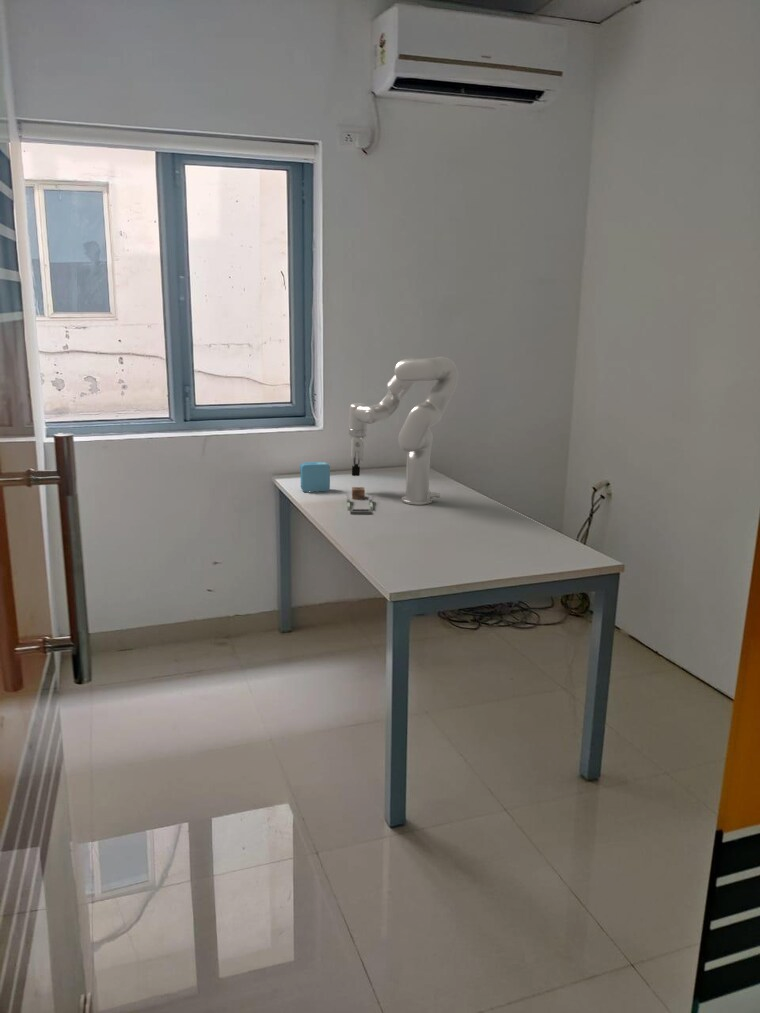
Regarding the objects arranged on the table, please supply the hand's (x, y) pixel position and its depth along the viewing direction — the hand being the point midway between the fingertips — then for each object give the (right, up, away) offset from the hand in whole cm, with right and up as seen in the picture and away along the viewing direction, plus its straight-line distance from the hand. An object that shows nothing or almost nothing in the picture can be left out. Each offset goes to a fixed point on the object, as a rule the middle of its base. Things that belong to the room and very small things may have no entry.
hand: (355, 475), depth 333 cm
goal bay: (+2, -14, -24) cm, 27 cm away
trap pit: (+3, -16, -30) cm, 34 cm away
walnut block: (+1, -10, -7) cm, 12 cm away
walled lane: (+2, -12, -16) cm, 20 cm away
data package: (-18, -7, +3) cm, 19 cm away
